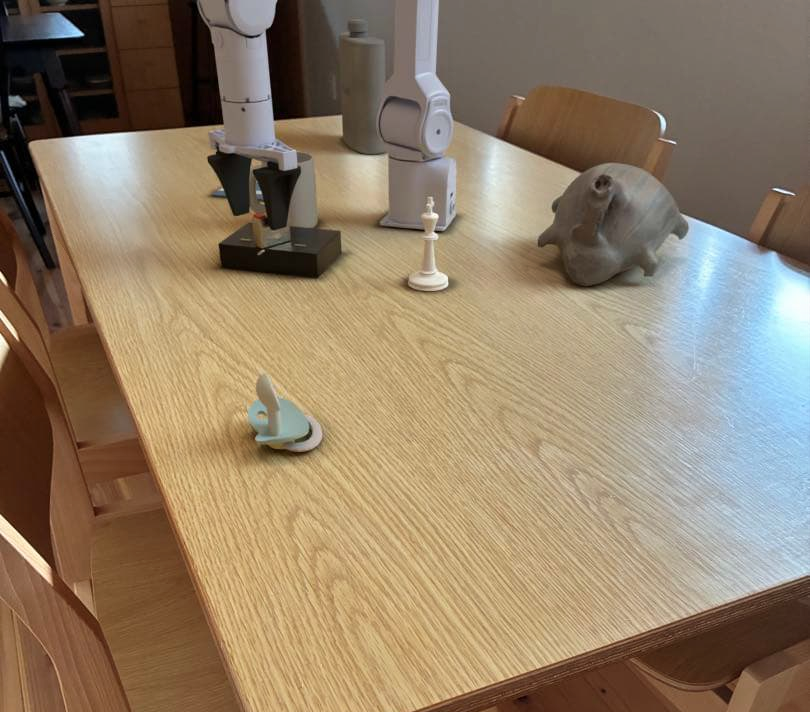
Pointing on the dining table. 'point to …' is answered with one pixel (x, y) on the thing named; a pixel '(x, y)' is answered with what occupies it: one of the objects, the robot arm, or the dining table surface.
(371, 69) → the flask
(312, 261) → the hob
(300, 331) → the dining table surface
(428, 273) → the chess piece
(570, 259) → the clay animal vessel
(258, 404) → the pacifier
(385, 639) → the dining table surface
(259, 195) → the dish towel
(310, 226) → the cup
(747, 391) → the dining table surface
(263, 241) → the tan flat block piece
